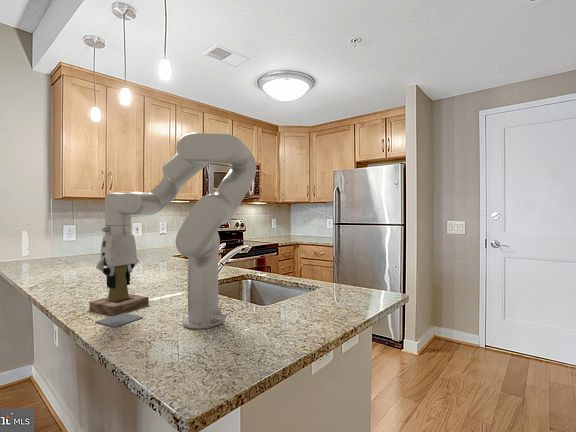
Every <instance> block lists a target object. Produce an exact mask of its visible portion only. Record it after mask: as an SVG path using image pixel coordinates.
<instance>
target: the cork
mask: <svg viewBox="0 0 576 432" xmlns="http://www.w3.org/2000/svg"><path fill="white" fill-rule="evenodd" d="M126 272H127V266H126V265H123V266H117V267H115V270H114V274H113V276H115V288H113V289H112V288H108V289H109V290H108V299H110V300H120V299H125V298H128V297H129V294H130V293H129V289H128V285H127V281H126V274H125V273H126Z"/></svg>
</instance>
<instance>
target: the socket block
mask: <svg viewBox="0 0 576 432" xmlns="http://www.w3.org/2000/svg"><path fill="white" fill-rule="evenodd" d="M128 294H129V297H128V298H125V299H120V300H110V299H108V297H107V296H106V297H103V298H100V299H96V300H91V301H89V305H88V306H89V311H90V312H95V313H100V314H104V315H109V316H111V317H112V316H115V315H118V314H121V313H128V312H130V311H131V312H132V311H133V310H137V309H141V308H144V307H147V306H149V304H150V303H149V297H148V296H145V295H144V296H143V295H137V294H132V293H128Z"/></svg>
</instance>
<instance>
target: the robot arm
mask: <svg viewBox="0 0 576 432" xmlns="http://www.w3.org/2000/svg"><path fill="white" fill-rule="evenodd" d="M175 146H176V154H175V155H173V156H172V157H171V158H170V159H169V160H168V161H167V162H166V163H164V164H163V166H162V167H161V168H162V169H161V171H162V175H163V176H162V179H161V180H160V181H159V183H158V184H157V185H156V186H155V187H154V188H153V189H151V190H150V191H149V192H145V191H131V192H126V193H125V192H108V193H106V195H105V197H104V227H102V228H101V232H102V233H104V235H103V236H102V240H101V245H100V260H98V262H97V264H96V266H95V268H96V269H97V270H98V271H100V272H101V273H102V274H104V276H105V277H106V288H107V289H110V288H112V289H113V288H115V276H113V274H114V270H115V267H117V266H123V265H126V266H127V272H126V273H125V274H126V281H127V286H129V285H131V273H132V271H133V269H134V268H135V266H137V264H138V263H139V259H138V258H137V256H138V254H137V245H136V239H135V235H134V234H132V216H151V215H156V214H157V213H159V212H161V211H162V210H163V209H164V208H165V207H167V206H168V205H169V204H170V203H171V202H173V200H175V198H176V197H177V196H178V193H180V191H181V189H182V187H183V186H184V185H186V183H187V182H188V181H190V179H192V178H193V177H194V176H196V174H198V173H199V172H200V171H201V170H203V169H204V168H205V167H206V166H207V165H208V164H210V163H216V164H217V163H218V164H225V165H227V166H228V167H229V171H228V172H227V173H226V175H225V176H224V177H223V179H222V180H221V182H220V184H219V185H218V187H217V189H216V190H215V192H213V193H210V194H206V195H203V196H201V197H200V198H199V199H198V200H197V201H196V202H195V204H194V205H193V207H192V208H191V210H190V211H189V212H188V215H187V217H186V218H185V220H184V221H183V223H182V224H181V226H180V228H179V229H178V232H177V233H176V238H175V247H176V249H177V252H179V254H181V256H183V257H186V258H188V260H187V316H186V317H185V318H183V320H182V324H183V326H184V327H186V328H188V329H195V330H196V329H198V330H199V329H200V330H202V329H210V328H213V327H217V326H219V325H221V324H222V323H224V322H225V321H226V319H227V318H228V314H227V313H224V312H222V307H219V254H220V244H221V238H220V234H219V232H218V230H219V228H220V227H221V226H222V225H225V224H228V223H229V222H230V221H231V219H232V218H233V217H234V215H235V213H236V212H237V210H238V208H239V206H240V205H241V204H242V202H243V200H244V198H245V196H246V194H247V193H248V191H249V190H250V187H251V186H252V184H253V182H254V181H255V178H256V173H257V162H256V161H257V160H256V158H255V157H254V154H253V152H252V151H251V150H250V148H249V146H248V145H247V144H245V143H244V141H242V140H241V139H240V138H239V137H237V136H235V135H233V134H229V133H209V132H206V133H205V132H191V133H190V132H189V133H186V134H184V135H182V136H181V137H180V138H179V139H178V140H177V142H176V145H175Z"/></svg>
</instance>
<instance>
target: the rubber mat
mask: <svg viewBox="0 0 576 432" xmlns="http://www.w3.org/2000/svg"><path fill="white" fill-rule="evenodd" d="M142 319H144V316H140V315H136V314H133V313H132V314H131V313H128V312H125V313H121V314H118V315H115V316H112V315H111V316H109V317H106V318H102V319H99V320H96V321H95V324H99V325H102V326H105V327H111V328H119V327H122V326H124V325H127V324H131V323H134V322H136V321H139V320H142Z"/></svg>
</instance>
